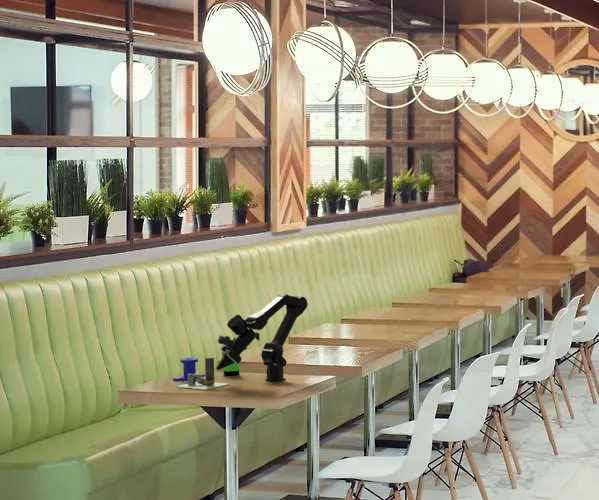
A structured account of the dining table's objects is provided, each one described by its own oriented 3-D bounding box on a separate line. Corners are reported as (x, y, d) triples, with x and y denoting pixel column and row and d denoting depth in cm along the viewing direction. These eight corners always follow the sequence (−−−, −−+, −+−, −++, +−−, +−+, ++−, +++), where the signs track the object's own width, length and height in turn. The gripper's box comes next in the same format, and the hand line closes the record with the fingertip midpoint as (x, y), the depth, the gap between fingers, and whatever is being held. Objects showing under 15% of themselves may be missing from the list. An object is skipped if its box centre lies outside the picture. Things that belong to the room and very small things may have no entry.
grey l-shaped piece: (195, 381, 513) (195, 355, 512) (205, 380, 514) (205, 354, 514) (206, 385, 500) (205, 358, 499) (216, 384, 501) (215, 358, 501)
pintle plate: (229, 385, 506) (229, 383, 506) (205, 390, 494) (205, 389, 494) (201, 382, 516) (201, 380, 516) (176, 387, 503) (176, 386, 503)
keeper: (189, 385, 508) (189, 373, 508) (204, 385, 507) (203, 373, 506) (187, 386, 505) (187, 374, 505) (202, 386, 504) (201, 374, 503)
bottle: (237, 376, 529) (236, 342, 528) (221, 376, 530) (220, 342, 530) (241, 374, 536) (240, 340, 535) (225, 374, 538) (224, 340, 537)
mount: (191, 376, 535) (191, 356, 535) (206, 377, 532) (205, 357, 531) (172, 381, 522) (172, 361, 521) (187, 382, 518) (187, 361, 518)
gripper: (225, 325, 512) (199, 353, 510) (232, 330, 494) (206, 359, 492) (244, 343, 514) (218, 371, 512) (252, 349, 496) (226, 377, 494)
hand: (217, 369), depth 502 cm, fingers closed
